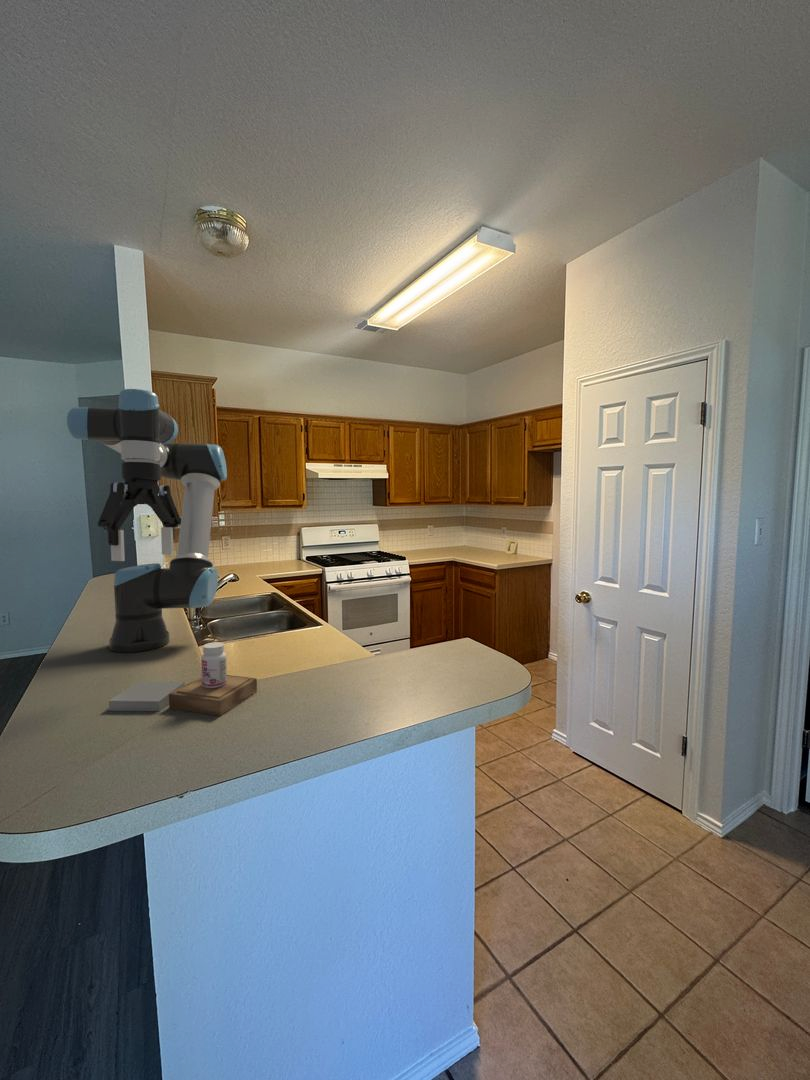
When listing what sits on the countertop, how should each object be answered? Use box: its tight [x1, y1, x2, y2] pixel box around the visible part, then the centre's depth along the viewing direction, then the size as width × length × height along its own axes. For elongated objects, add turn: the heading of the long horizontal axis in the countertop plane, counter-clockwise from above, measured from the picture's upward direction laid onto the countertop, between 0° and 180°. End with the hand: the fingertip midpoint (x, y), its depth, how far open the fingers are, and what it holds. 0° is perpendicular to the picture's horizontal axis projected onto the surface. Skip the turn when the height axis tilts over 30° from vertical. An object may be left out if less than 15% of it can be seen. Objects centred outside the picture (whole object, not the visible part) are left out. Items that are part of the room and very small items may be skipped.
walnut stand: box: [168, 674, 258, 717], centre depth 95 cm, size 12×12×3 cm
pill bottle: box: [201, 641, 228, 688], centre depth 94 cm, size 5×5×8 cm
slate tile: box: [108, 680, 186, 712], centre depth 94 cm, size 10×10×2 cm
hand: (144, 557), depth 102 cm, fingers open, 13 cm apart
